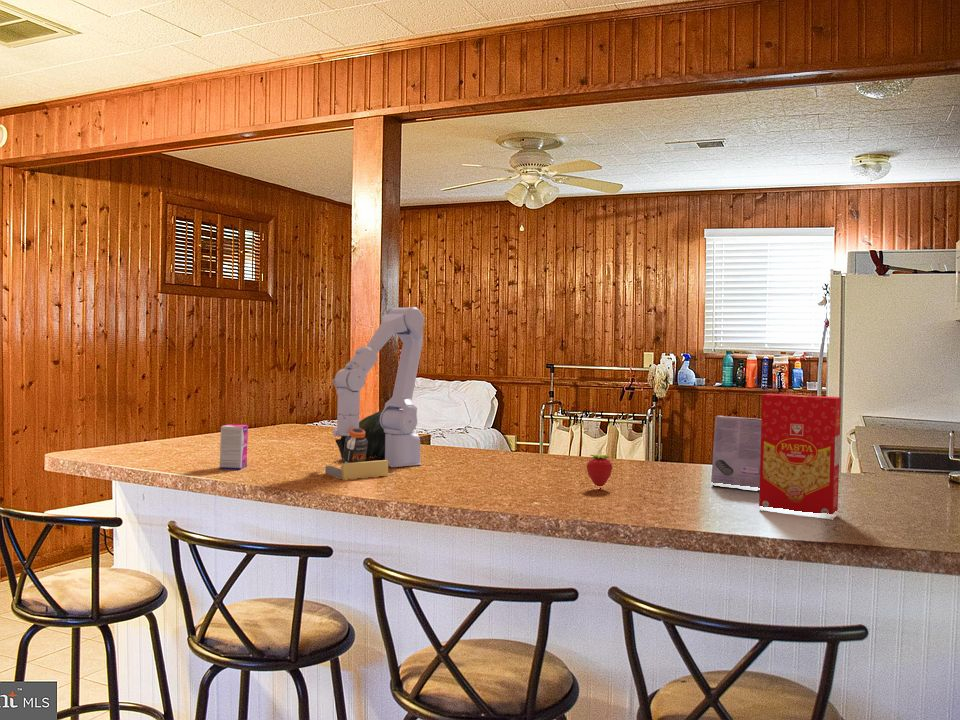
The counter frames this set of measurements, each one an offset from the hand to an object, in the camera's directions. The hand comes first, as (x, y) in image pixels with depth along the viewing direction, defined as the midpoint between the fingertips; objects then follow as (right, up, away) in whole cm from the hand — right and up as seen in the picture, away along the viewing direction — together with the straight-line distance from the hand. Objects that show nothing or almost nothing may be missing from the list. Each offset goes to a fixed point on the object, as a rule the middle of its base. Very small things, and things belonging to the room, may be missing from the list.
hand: (347, 465), depth 213 cm
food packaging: (+102, -5, -41) cm, 111 cm away
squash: (+5, -1, +25) cm, 26 cm away
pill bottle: (+2, -1, -2) cm, 3 cm away
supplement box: (-31, -1, +3) cm, 31 cm away
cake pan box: (+102, -4, -15) cm, 103 cm away
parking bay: (+3, -2, -4) cm, 5 cm away
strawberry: (+64, -4, -18) cm, 66 cm away
